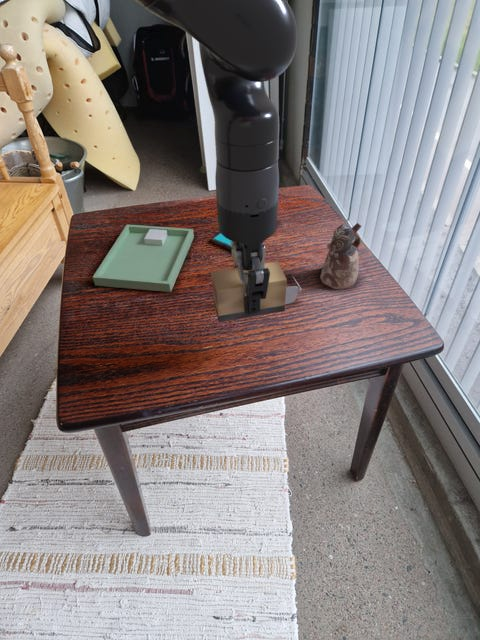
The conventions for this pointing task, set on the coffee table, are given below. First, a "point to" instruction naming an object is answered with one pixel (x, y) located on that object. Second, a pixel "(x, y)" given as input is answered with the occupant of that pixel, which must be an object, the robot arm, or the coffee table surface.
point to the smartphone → (222, 241)
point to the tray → (144, 260)
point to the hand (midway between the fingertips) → (248, 300)
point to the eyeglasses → (291, 293)
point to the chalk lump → (155, 237)
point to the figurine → (342, 258)
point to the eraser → (232, 297)
